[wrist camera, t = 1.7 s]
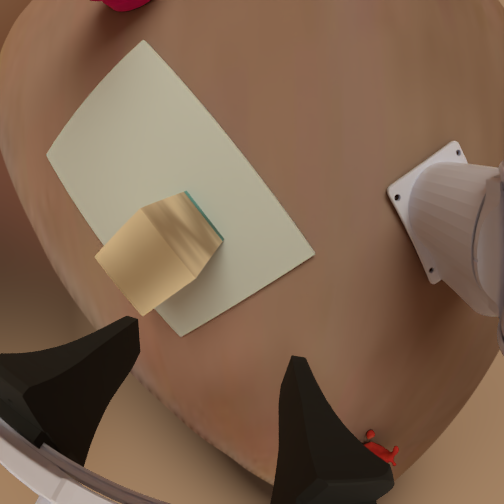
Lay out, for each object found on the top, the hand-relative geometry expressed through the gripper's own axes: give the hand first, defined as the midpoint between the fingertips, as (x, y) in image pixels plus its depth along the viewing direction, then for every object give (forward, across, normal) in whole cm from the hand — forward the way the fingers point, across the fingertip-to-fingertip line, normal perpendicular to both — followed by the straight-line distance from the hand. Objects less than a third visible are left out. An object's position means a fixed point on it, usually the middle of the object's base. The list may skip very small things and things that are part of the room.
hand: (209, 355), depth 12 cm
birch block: (+10, +5, -2) cm, 11 cm away
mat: (+10, +8, -5) cm, 14 cm away
